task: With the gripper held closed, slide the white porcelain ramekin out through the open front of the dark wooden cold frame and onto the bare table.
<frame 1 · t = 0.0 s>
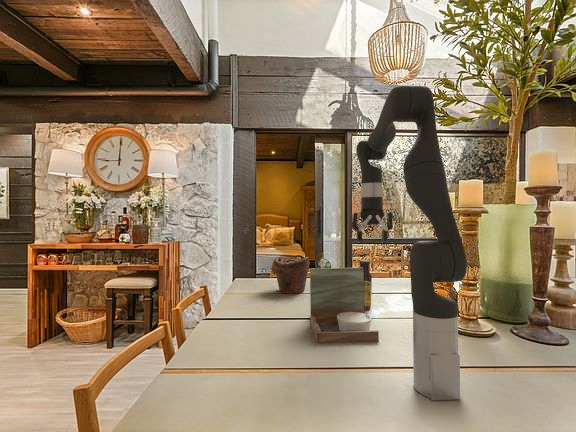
hand: (372, 241, 120), 29 cm above the table, tool pointing down, fingers open, 8 cm apart
ramekin: (354, 333, 111), resting in cold frame
cold frame: (343, 332, 111), on the table
brown flower pot: (291, 291, 171), on the table
potted flower: (324, 317, 128), on the table
sauce bottle: (363, 308, 139), on the table
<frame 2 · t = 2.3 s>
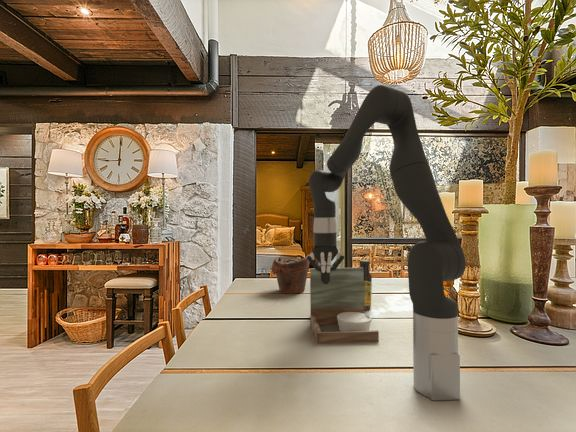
hand: (325, 283, 111), 16 cm above the table, tool pointing down, fingers closed
nothing on the table moved.
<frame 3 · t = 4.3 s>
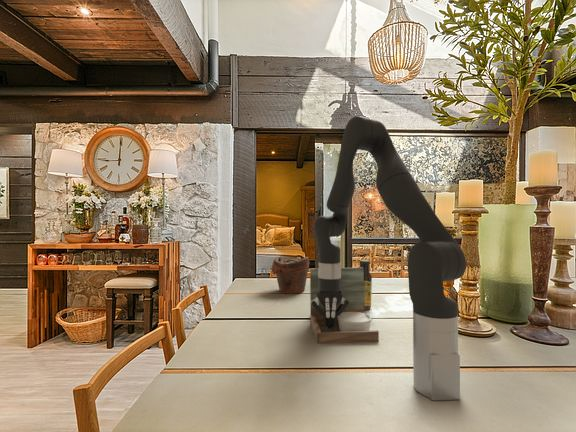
hand: (329, 328, 111), 2 cm above the table, tool pointing down, fingers closed
ramekin: (354, 332, 111), resting in cold frame, touching gripper
everything else where it was.
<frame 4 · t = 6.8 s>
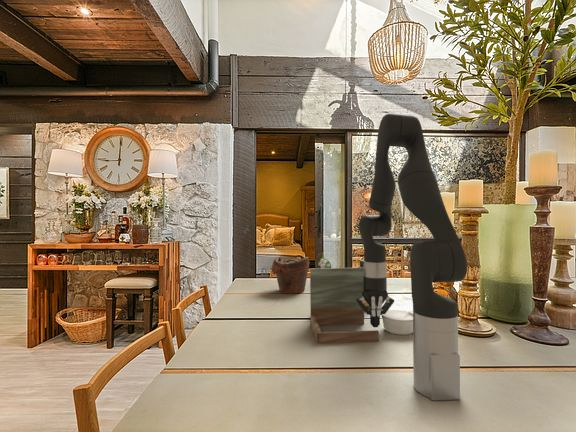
hand: (375, 326, 112), 2 cm above the table, tool pointing down, fingers closed
ramekin: (398, 330, 113), on the table, touching gripper
everything else where it was.
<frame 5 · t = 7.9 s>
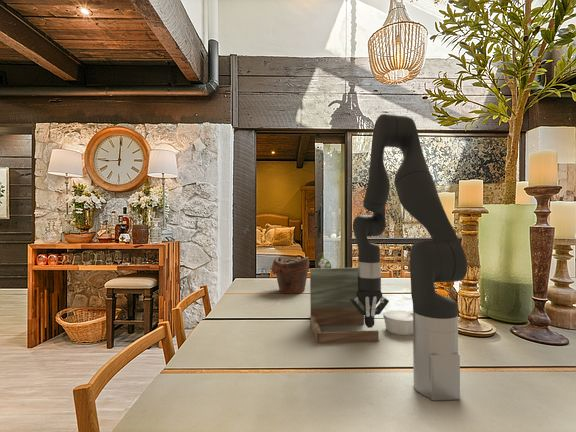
hand: (369, 326, 112), 2 cm above the table, tool pointing down, fingers closed
ramekin: (400, 331, 113), on the table
everything else where it was.
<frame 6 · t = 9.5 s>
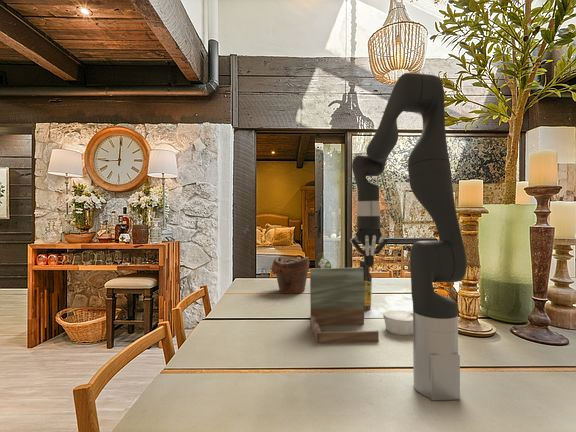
hand: (368, 266, 112), 22 cm above the table, tool pointing down, fingers closed
nothing on the table moved.
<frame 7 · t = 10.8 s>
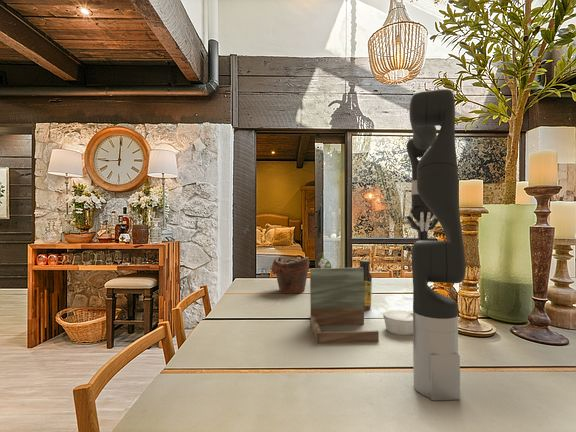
hand: (423, 241, 120), 29 cm above the table, tool pointing down, fingers closed
nothing on the table moved.
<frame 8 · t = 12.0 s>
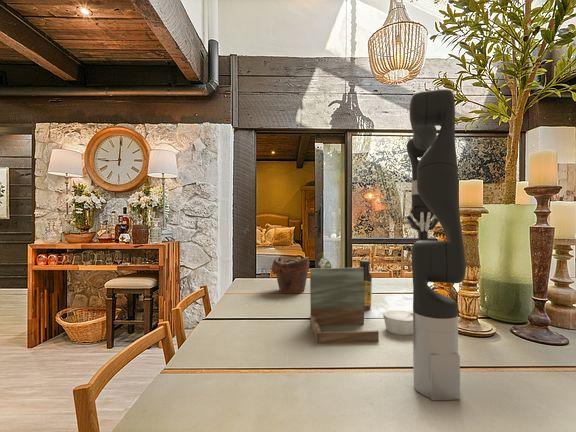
hand: (423, 241, 120), 29 cm above the table, tool pointing down, fingers closed
nothing on the table moved.
at the end: ramekin inside the target area (1.0 cm from its centre), on the table; ramekin tilted 0° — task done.
